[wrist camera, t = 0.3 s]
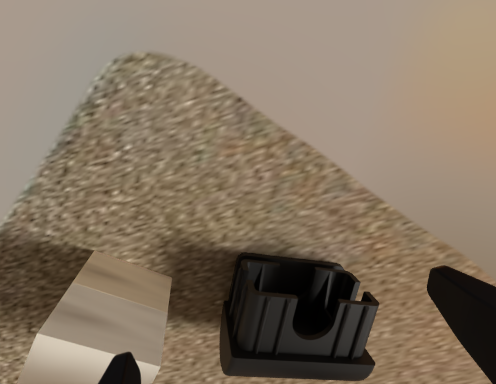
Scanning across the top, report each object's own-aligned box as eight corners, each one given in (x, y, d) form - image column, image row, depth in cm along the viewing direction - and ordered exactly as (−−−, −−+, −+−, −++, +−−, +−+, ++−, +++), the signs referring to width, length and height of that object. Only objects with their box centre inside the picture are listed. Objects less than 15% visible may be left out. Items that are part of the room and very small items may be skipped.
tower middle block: (131, 386, 22) (116, 454, 17) (38, 362, 20) (-4, 431, 16) (167, 312, 21) (160, 366, 16) (72, 282, 19) (37, 333, 15)
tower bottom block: (142, 339, 26) (131, 385, 22) (65, 317, 25) (38, 362, 20) (172, 277, 25) (167, 312, 21) (94, 250, 24) (72, 282, 19)
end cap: (216, 328, 27) (222, 398, 20) (232, 250, 25) (244, 300, 19) (326, 335, 29) (364, 402, 22) (347, 264, 27) (395, 313, 21)
